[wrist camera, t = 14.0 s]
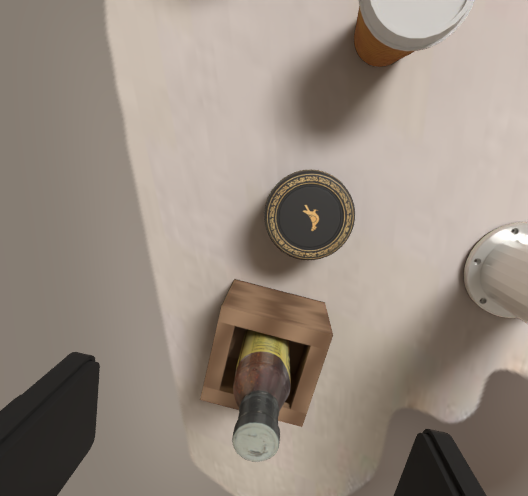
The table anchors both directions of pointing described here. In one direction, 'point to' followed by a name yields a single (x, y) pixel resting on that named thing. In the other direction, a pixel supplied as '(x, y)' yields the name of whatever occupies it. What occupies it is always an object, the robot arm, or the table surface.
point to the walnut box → (276, 324)
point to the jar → (309, 214)
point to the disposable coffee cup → (404, 27)
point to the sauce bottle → (260, 394)
